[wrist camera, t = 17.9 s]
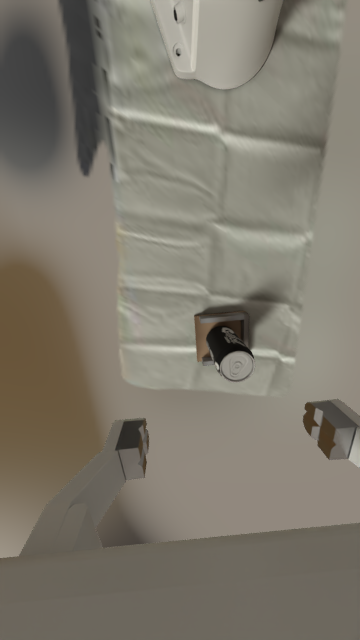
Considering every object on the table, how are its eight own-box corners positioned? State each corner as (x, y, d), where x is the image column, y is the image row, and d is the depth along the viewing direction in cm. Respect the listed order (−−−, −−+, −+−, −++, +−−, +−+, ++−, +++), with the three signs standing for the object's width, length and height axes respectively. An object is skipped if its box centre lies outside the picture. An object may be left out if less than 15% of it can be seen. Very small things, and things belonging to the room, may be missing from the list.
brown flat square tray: (197, 359, 43) (198, 366, 41) (194, 315, 40) (195, 319, 37) (243, 355, 43) (247, 361, 41) (244, 310, 40) (249, 314, 37)
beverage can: (238, 327, 40) (263, 353, 29) (229, 353, 42) (250, 387, 31) (209, 321, 40) (223, 346, 28) (202, 348, 42) (213, 381, 30)
